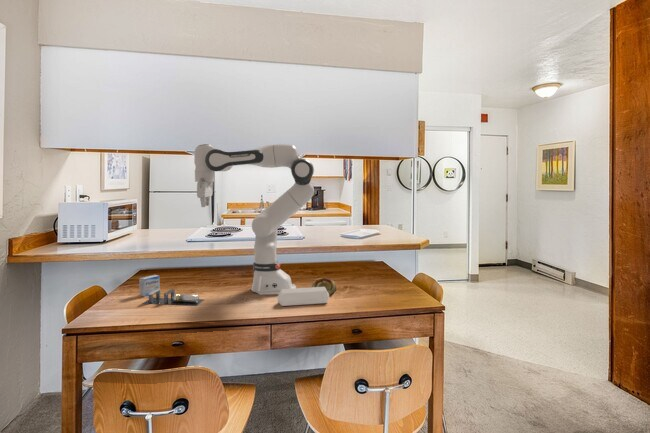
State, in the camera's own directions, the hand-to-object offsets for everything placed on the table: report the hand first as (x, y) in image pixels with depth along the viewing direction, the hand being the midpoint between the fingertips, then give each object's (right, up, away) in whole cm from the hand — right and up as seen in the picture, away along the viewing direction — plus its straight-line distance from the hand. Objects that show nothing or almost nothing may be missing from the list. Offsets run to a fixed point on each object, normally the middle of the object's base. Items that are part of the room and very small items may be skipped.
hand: (205, 206), depth 176 cm
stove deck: (-9, -44, -15) cm, 47 cm away
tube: (-4, -43, -16) cm, 46 cm away
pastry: (+59, -43, +3) cm, 73 cm away
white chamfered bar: (+49, -45, -14) cm, 68 cm away
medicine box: (-25, -43, -4) cm, 50 cm away
